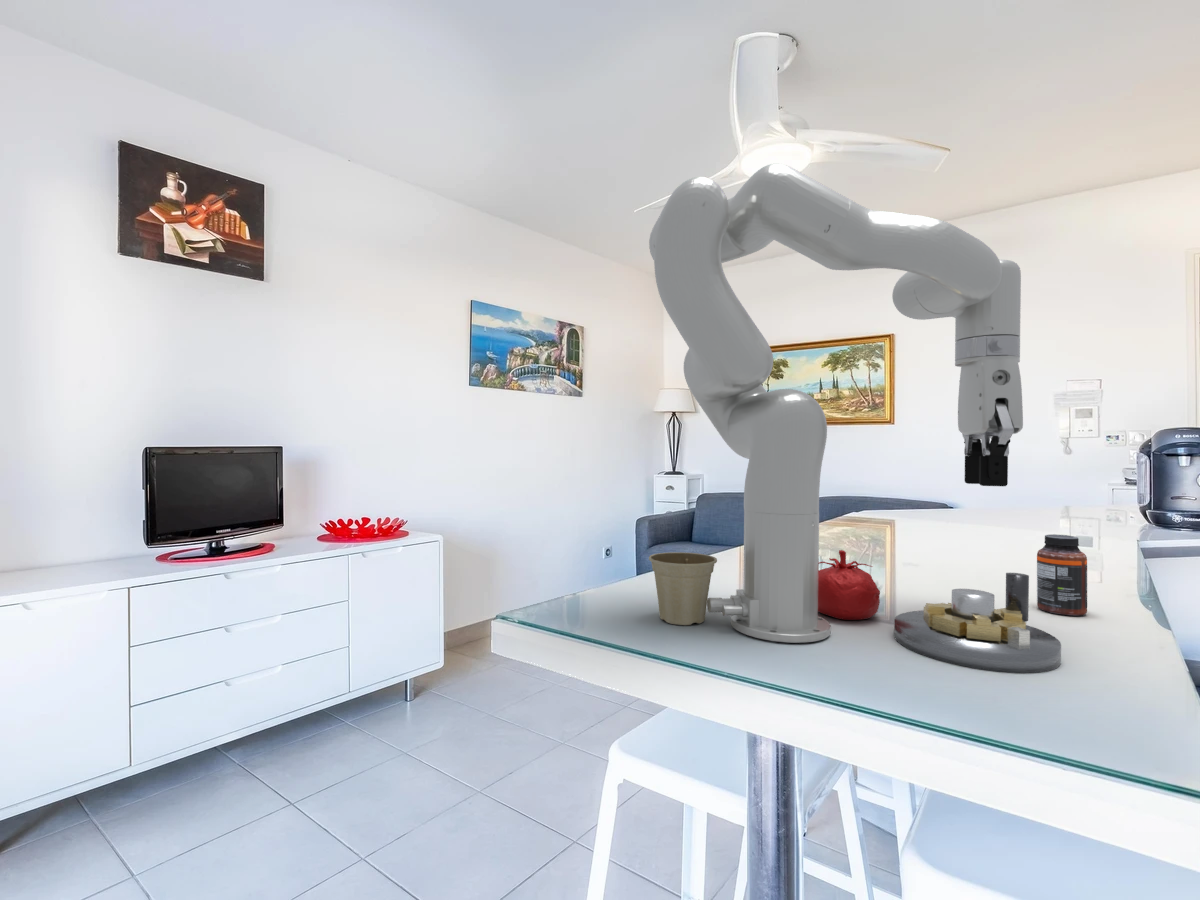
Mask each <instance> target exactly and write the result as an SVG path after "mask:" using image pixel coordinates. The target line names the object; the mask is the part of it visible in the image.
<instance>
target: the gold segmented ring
mask: <svg viewBox="0 0 1200 900" xmlns="http://www.w3.org/2000/svg"><path fill="white" fill-rule="evenodd" d="M1029 587H1030V575H1029V574H1025V573H1019V572H1006V573H1005V607H1002V608H1001V607H1000V608H994V622H991V620H990V619H989V618H988V617H987V616H983V615H973V616H972V620H966V619H962V618H959V617H955V616H951V608H952V602H947V603H945V602H938V603H930V602H929V603H928V602H927V603H925V606H923V611H924V620H925V622H926V623H927V625H928V626H929V627H932V628H933V629H936V630H939V631H943V632H946V633H949V634H953V635H956V636H964V635H965V636H966V638H972V639H981V640H991V641H1000V642H1001V640H1004V641H1008V628H1009V627H1020V628H1023V629H1026V625H1027V622H1029V611H1030V610H1029V607H1030V606H1029V601H1030V599H1029V594H1030V593H1029V592H1030V590H1029V589H1030V588H1029Z"/></svg>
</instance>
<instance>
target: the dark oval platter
mask: <svg viewBox="0 0 1200 900" xmlns="http://www.w3.org/2000/svg"><path fill="white" fill-rule="evenodd" d="M951 603H952V608H951V616H955V617H959V618H962V619H966V620H972V616H973V615H983V616H987V617H988V618H989V619H990V620H991V622H994V609H995V594H994V593H992V592H989V591H988V592H987V591H984V590H981V589H980V590H979V589H972V588H953V589H951ZM893 627H894V628H893V636H895V637H894V639H895V638H896V639H895V640H896V641H898V644H900V645H901V644H902V645H901V646H903V647H904V646H905V648H906V649H909V650H910V651H912V652H915V653H917V654H919V655H923V656H924V657H928V658H931V659H934V660H938V661H941V662H944V663H948V664H952V665H957V666H961V667H967V668H971V669H977V670H978V669H979V670H984V671H993V672H1002V673H1015V674H1018V673H1019V674H1031V673H1033V674H1034V673H1043V672H1044V673H1045V672H1049V671H1053V670H1055V669H1057V668H1059V667H1060V666H1061V663H1062V643H1061V641H1060V640H1059V639H1058V638H1057V637H1055V636H1054V635H1052V634H1050V633H1048V632H1046V631H1044V630H1041V629H1039V628H1036V627H1034V626H1031V625H1027V624H1026V629H1023V628H1020V627H1009V628H1008V641H1004V640H1001V642H1000V641H991V640H981V639H972V638H966V636H965V635H964V636H956V635H953V634H949V633H946V632H943V631H939V630H936V629H933V628H932V627H929V626H928V625H927V623H926V622H925V620H924V610H916V611H915V610H914V611H913V610H912V611H906V612H903V613H900V614H898V615H896V616H895V617H894V624H893Z"/></svg>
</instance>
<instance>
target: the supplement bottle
mask: <svg viewBox="0 0 1200 900" xmlns="http://www.w3.org/2000/svg"><path fill="white" fill-rule="evenodd" d="M1079 540H1080V539H1079V537H1077V536H1074V535H1067V534H1055V533H1054V534H1045V535H1044V546H1043V547H1042V548H1039V550H1038V551H1037V553H1036V605H1037V607H1038V608H1039V610H1041V611H1044V612H1045V613H1046V612H1047V613H1049V614H1053V615H1054V614H1055V615H1062V616H1070V617H1074V616H1075V617H1077V616H1083V615H1086V614H1087V612H1088V559H1087V555H1086V554H1085V552H1083V551H1081V549H1080V548H1079V546H1080V544H1079Z"/></svg>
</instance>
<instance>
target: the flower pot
mask: <svg viewBox="0 0 1200 900" xmlns="http://www.w3.org/2000/svg"><path fill="white" fill-rule="evenodd" d="M648 560H649V562H651V566H652V567H651V569H652V571H653V572H654V581H655V587H656V588H655V589H656V595H657V596H656V597H657V602H658V610H659V611H658V613H659V618H660V620H661V621H665V622H666V623H667V624H671V625H676V626H677V625H679V626H691V625H692V624H695V623H696V624H697V625H699V624H702V623H704V621H706V613H707V612H706V611H707V600H708V598H709V593H710V592H709V591H710V584H711V577H712V573H713V572H714V568H715V564H716V563H717V562H718V559H717V558H716V557H715V556H714V555H713V556H712V555H710V554H704V553H700V552H699V553H696V552H695V553H694V552H685V551H684V552H683V551H681V552H680V551H679V552H678V551H676V552H675V551H673V552H658V553H654V554H651V555H649V557H648Z"/></svg>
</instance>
